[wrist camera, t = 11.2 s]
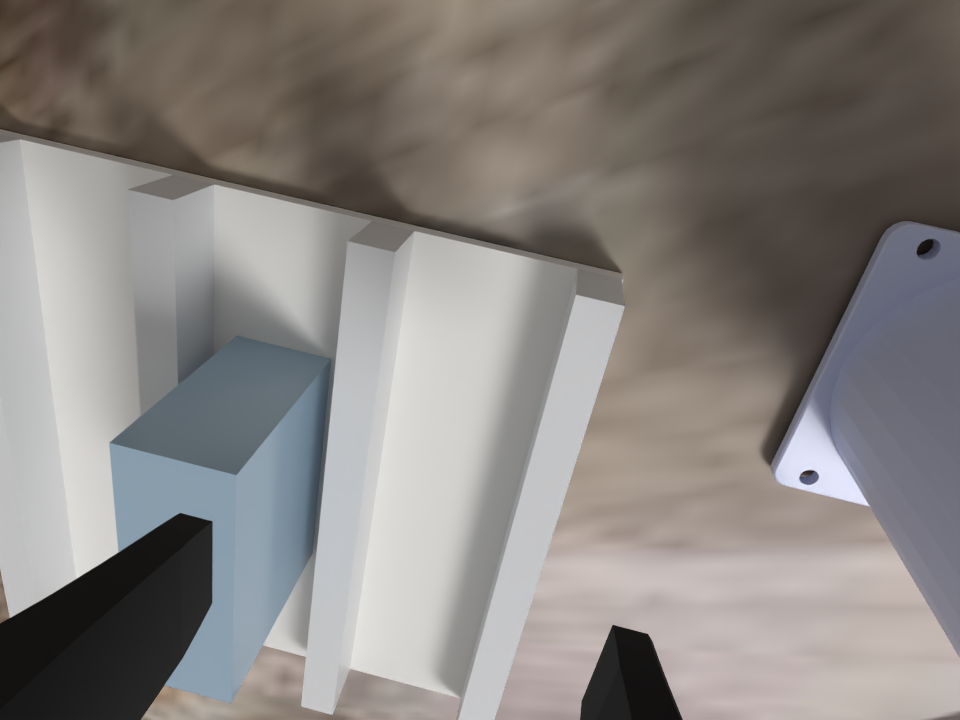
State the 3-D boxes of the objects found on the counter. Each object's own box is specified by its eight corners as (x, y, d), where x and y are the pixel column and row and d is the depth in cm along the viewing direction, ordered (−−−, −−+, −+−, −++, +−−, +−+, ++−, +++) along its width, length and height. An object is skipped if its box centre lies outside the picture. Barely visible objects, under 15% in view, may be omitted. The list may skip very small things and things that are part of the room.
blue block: (331, 358, 20) (236, 475, 15) (312, 553, 24) (231, 703, 18) (236, 335, 20) (108, 442, 15) (232, 532, 24) (128, 675, 18)
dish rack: (622, 273, 18) (627, 306, 16) (493, 695, 26) (484, 756, 24) (-8, 127, 19) (-88, 139, 17) (58, 578, 27) (10, 627, 25)
